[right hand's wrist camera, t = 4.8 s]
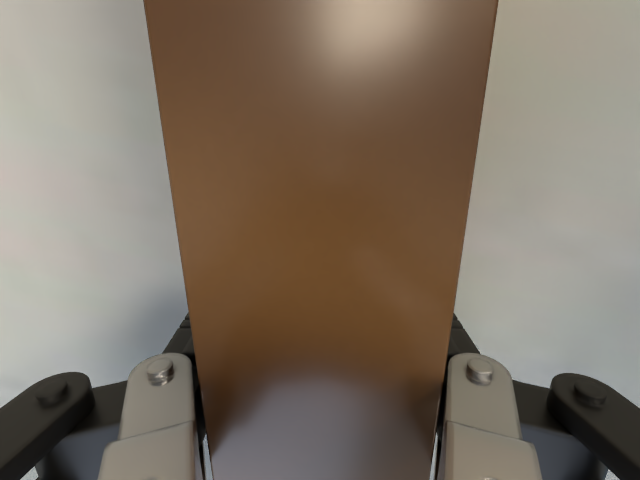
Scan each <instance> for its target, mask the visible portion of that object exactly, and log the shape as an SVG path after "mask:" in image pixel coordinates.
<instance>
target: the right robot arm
mask: <svg viewBox="0 0 640 480" xmlns="http://www.w3.org/2000/svg"><path fill="white" fill-rule="evenodd" d="M436 432H437V435H438V438H437V445H436V454H435V466H434V478H433V480H604V479H605V477H606V474H607V472H608V469H609V470H610V471H611V472H613V473H614V474H615V475H616V476H617V477H618V478H619V479H620V480H640V408H638V407H637V406H636V405H634V404H633V403H632V402H630V401H629V400H628V399H626V398H625V397H623V396H622V395H621V394H619V393H618V392H617V391H615V390H614V389H612V388H611V387H609V386H608V385H606V384H604V383H602V382H600V381H598V380H596V379H593V378H591V377H588V376H584V375H580V374H574V373H563V374H559V375H557V376H555V377H554V378H553V379H552V382H551V385H550V389H549V388H544V387H539V386H535V385H530V384H526V383H522V382H518V381H515V380H512V377H511V375H510V373H509V371H508V370H507V369H506V368H505V367H504V366H503V365H502V364H500V363H499V362H498V361H496V360H494V359H492V358H490V357H487V356H484V355H481V354H480V352H479V351H478V349H477V348H476V346H475V345H474V343H473V342H472V340H471V339H470V337H469V336H468V334H467V332H466V331H465V329H463V326H462V325H461V323H460V322H459V320H457V317H456V315H455V314H454V312H453V319H452V326H451V332H450V339H449V346H448V353H447V360H446V367H445V374H444V381H443V388H442V395H441V402H440V409H439V416H438V423H437V429H436ZM205 434H206V428H205V421H204V414H203V407H202V400H201V393H200V386H199V379H198V372H197V366H196V359H195V352H194V345H193V338H192V331H191V324H190V317H189V312H188V314H187V315H186V317H185V320H183V322H182V323H181V325H180V328H178V330H177V331H176V333H175V334H174V336H173V337H172V339H171V341H170V342H169V344H168V345H167V347H166V348H165V350H164V351H163V353H162V354H159V355H156V356H153V357H150V358H148V359H146V360H144V361H142V362H141V363H140V364H138V365H137V366H136V367H135V368H134V369H133V370H132V371H131V373H130V375H129V377H128V380H126V381H123V382H119V383H114V384H110V385H105V386H100V387H96V388H92V387H91V383H90V380H89V377H88V376H87V375H85V374H83V373H79V372H67V373H61V374H57V375H53V376H50V377H48V378H45V379H43V380H41V381H39V382H37V383H35V384H34V385H32V386H31V387H29V388H28V389H26V390H25V391H23V392H22V393H21V394H19V395H18V396H17V397H15V398H14V399H13V400H11V401H10V402H8V403H7V404H6V405H4V406H3V407H2V408H0V480H20V479H21V478H22V477H23V476H24V475H25V474H26V473H27V472H29V471H30V470H31V469H32V468H33V467H34V466H35V468H36V471H37V474H38V476H39V477H38V478H37V479H36V480H207V478H206V466H205V454H204V445H203V440H204V437H205Z"/></svg>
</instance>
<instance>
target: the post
mask: <svg viewBox="0 0 640 480" xmlns="http://www.w3.org/2000/svg"><path fill="white" fill-rule="evenodd" d="M143 1H144V7H145V14H146V21H147V28H148V35H149V42H150V49H151V56H152V62H153V69H154V76H155V83H156V90H157V97H158V104H159V111H160V118H161V124H162V131H163V138H164V145H165V152H166V159H167V166H168V173H169V180H170V186H171V193H172V200H173V207H174V214H175V221H176V228H177V235H178V242H179V248H180V255H181V262H182V269H183V276H184V283H185V290H186V297H187V304H188V310H189V317H190V324H191V331H192V338H193V345H194V352H195V359H196V366H197V372H198V379H199V386H200V393H201V400H202V407H203V414H204V421H205V428H206V434H207V441H208V448H209V455H210V462H211V469H212V476H213V480H429V478H430V471H431V464H432V457H433V450H434V443H435V436H436V429H437V423H438V416H439V409H440V402H441V395H442V388H443V381H444V374H445V367H446V360H447V353H448V346H449V339H450V332H451V326H452V319H453V312H454V305H455V298H456V291H457V284H458V277H459V270H460V263H461V256H462V249H463V242H464V235H465V229H466V222H467V215H468V208H469V201H470V194H471V187H472V180H473V173H474V166H475V159H476V152H477V145H478V138H479V132H480V125H481V118H482V111H483V104H484V97H485V90H486V83H487V76H488V69H489V62H490V55H491V48H492V42H493V35H494V28H495V21H496V14H497V7H498V0H143Z"/></svg>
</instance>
